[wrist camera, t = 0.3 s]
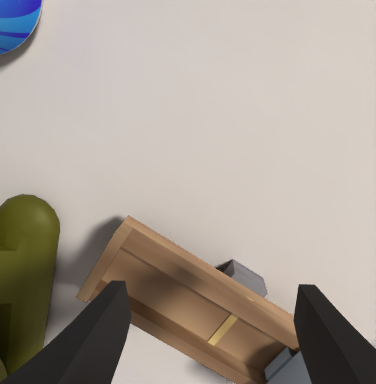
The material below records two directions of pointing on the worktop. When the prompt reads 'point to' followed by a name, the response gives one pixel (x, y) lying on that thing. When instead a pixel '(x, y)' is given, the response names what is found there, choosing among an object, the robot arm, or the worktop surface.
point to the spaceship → (25, 277)
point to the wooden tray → (195, 303)
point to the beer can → (17, 22)
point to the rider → (287, 369)
